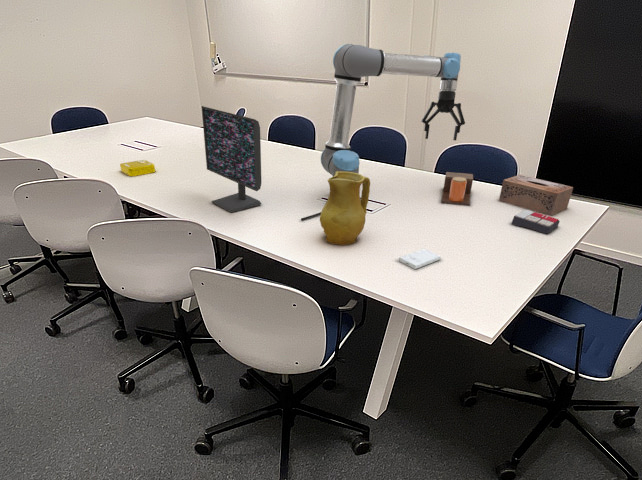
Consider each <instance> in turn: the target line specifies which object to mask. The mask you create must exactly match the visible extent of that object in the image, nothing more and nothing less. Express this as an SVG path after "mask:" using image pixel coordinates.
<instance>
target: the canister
mask: <svg viewBox="0 0 642 480" xmlns="http://www.w3.org/2000/svg"><path fill="white" fill-rule="evenodd" d="M466 183H467V181H466V178H463V177H454V178H453V179H452V181H451V187H450V194H449V200H451V201H455V202H461V201H463V200H464V194H465V189H466Z"/></svg>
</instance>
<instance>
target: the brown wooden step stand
mask: <svg viewBox="0 0 642 480" xmlns="http://www.w3.org/2000/svg"><path fill="white" fill-rule="evenodd" d="M454 177H463V178H466V181H467V183H466V189H465V194H464V200H463V201H461V202H455V201H451V200H449V194H450V187H451V181H452V179H453V178H454ZM443 182H444V183H443V188H442V189H443V191H442V196H441V202H440V203H441V204H447V205H455V206H456V205H457V206H467V207H470V206H471V193H472V187H473V182H474V174H473V173H465V172H451V171H446V172H445V177H444V181H443Z"/></svg>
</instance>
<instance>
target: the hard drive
mask: <svg viewBox="0 0 642 480" xmlns="http://www.w3.org/2000/svg"><path fill="white" fill-rule="evenodd" d="M441 257H442V256H441V255H439V254H437V253H435V252H432V251H430V250H428V249H427V248H422V249H419V250H415V251H413V252H411V253H408V254H405V255H403V256H400V257H398V261H399V263H402V264H404V265H406V266H407V267H409V268H412V269H414V270H417V269H420V268H422V267H425V266H427V265H430V264H433V263H435V262H437V261H441Z"/></svg>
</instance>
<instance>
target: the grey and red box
mask: <svg viewBox="0 0 642 480" xmlns="http://www.w3.org/2000/svg"><path fill="white" fill-rule="evenodd" d="M560 221H561V220H560V219H559V218H556V217H553V216H550V215H547V214H543V213H540V212H536V211H533V210H529V209H523V210H522V211H521V212H519V213H517V214H515V215H514V216H513V218H512V221H511V225H513V226H516V227H524V228H527V229H530V230H533V231H536V232H539V233H542V234H545V235H548V234H550V233H552V232H553V231H554V230H556V229H557V228H558V227H559V225H560Z"/></svg>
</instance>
